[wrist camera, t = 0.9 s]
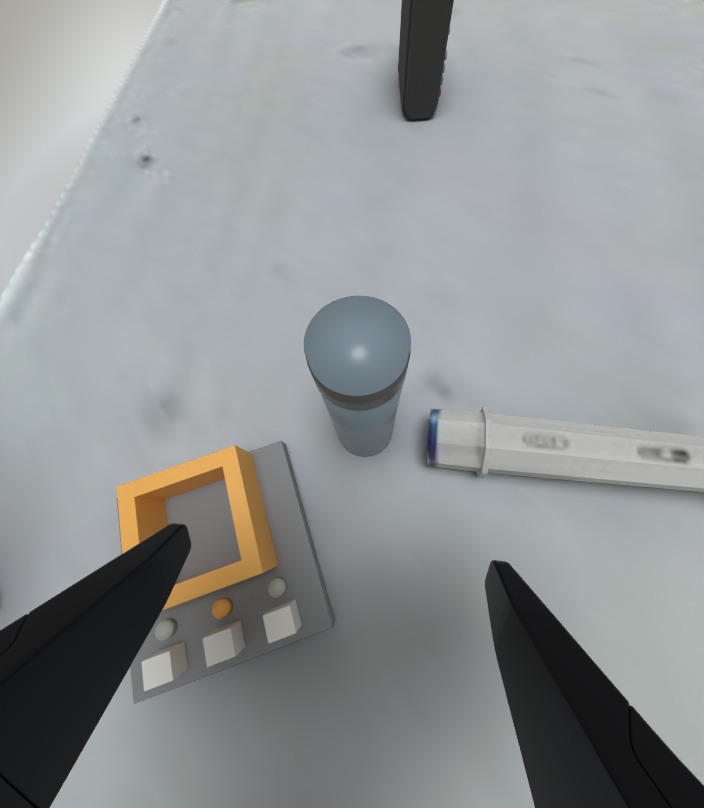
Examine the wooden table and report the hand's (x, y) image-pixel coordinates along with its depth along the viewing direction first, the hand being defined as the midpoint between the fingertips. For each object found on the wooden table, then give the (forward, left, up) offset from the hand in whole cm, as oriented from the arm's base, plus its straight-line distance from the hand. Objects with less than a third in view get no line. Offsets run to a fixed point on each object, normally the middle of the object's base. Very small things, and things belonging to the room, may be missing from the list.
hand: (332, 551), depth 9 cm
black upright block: (+42, -22, -13) cm, 49 cm away
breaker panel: (+2, +9, -13) cm, 16 cm away
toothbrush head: (-2, -18, -14) cm, 23 cm away
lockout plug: (+7, -3, -13) cm, 15 cm away
